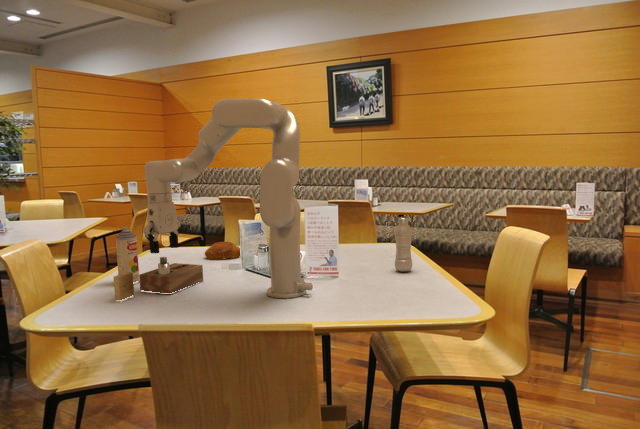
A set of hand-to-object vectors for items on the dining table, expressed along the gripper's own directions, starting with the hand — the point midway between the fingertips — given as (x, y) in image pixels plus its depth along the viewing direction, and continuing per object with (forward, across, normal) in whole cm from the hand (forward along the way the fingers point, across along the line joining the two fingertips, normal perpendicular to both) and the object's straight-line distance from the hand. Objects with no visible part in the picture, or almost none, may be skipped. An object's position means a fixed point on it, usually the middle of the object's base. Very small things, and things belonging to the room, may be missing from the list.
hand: (164, 250), depth 164 cm
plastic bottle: (+16, +47, -69) cm, 85 cm away
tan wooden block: (+13, -13, +6) cm, 20 cm away
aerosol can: (+13, +4, +20) cm, 24 cm away
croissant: (+14, +53, +13) cm, 56 cm away
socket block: (+13, +4, +1) cm, 14 cm away
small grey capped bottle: (+13, 0, +1) cm, 13 cm away
